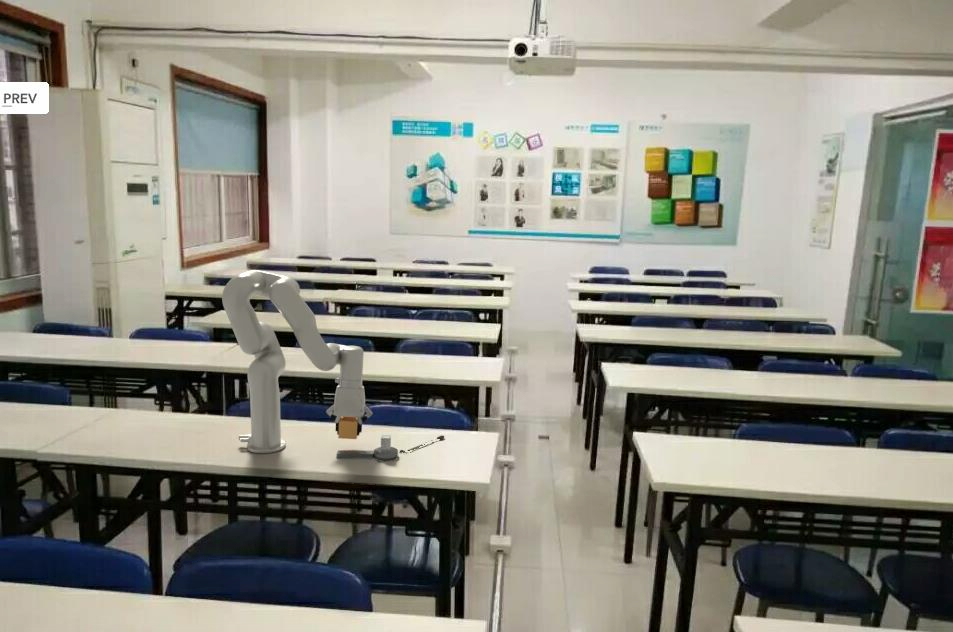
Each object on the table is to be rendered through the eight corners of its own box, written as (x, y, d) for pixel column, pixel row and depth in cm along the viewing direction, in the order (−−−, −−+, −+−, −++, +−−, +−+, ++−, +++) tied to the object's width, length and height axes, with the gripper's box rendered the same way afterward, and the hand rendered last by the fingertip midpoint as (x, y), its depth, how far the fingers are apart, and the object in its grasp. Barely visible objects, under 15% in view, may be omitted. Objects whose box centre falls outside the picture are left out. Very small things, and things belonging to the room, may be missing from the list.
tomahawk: (411, 460, 222) (412, 457, 222) (398, 453, 227) (398, 450, 226) (454, 443, 238) (454, 440, 238) (440, 437, 242) (441, 434, 242)
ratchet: (335, 460, 217) (335, 440, 216) (338, 451, 225) (338, 432, 224) (397, 461, 219) (397, 440, 217) (398, 452, 226) (398, 432, 225)
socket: (338, 438, 224) (339, 421, 223) (340, 432, 230) (341, 415, 229) (356, 439, 225) (357, 422, 224) (358, 433, 231) (359, 416, 230)
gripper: (323, 384, 220) (321, 436, 223) (375, 387, 221) (373, 438, 224) (326, 378, 227) (324, 428, 230) (377, 381, 229) (374, 431, 232)
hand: (348, 433), depth 227 cm, fingers closed on socket, 6 cm apart
